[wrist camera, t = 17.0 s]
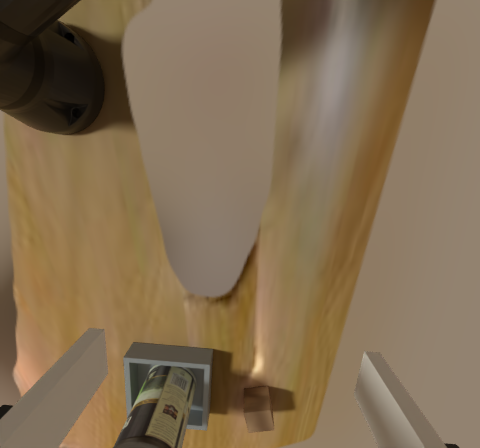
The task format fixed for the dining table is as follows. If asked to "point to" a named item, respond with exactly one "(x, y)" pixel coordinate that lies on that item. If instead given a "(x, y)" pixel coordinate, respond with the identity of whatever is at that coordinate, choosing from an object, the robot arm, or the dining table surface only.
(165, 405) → the coffee can
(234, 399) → the dining table surface
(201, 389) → the tray
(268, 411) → the walnut block
